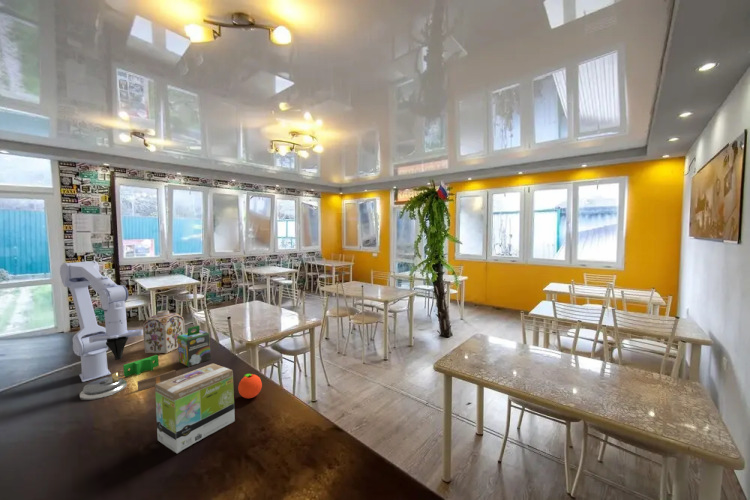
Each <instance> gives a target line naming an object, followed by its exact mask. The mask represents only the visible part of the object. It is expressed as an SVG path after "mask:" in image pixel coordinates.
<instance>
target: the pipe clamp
mask: <svg viewBox="0 0 750 500" xmlns="http://www.w3.org/2000/svg"><path fill="white" fill-rule="evenodd" d="M159 366H160V364H159V355H158V354H155V355H152V356H149V357H145V358H142V359H139V360H136V361H132V362H129V363H126V364H123V366H122V367H123V368H122V369H123V376H125V377H124V378H126V377H129V376H132V375H136V376H139V375H141V373H144V372H148V371H154V368H157V367H159Z"/></svg>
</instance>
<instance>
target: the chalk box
mask: <svg viewBox="0 0 750 500" xmlns="http://www.w3.org/2000/svg"><path fill="white" fill-rule="evenodd" d="M194 329H195V330H194ZM192 330H193V331H192ZM177 341H178V350H177V352H178V358H179V359H178V361H179V363H180V364H183V365H184V366H186V367H188V368H190V367H192V366H196V365H198V364H202V363H204V362H207V361H211V360H212V357H211V354H212V353H211V342H210V341H211V340H210V332H208V331H204V330H201V326H200V325H194V326H190V327H188V328H187V332H185V334H182V335H179V336H177Z"/></svg>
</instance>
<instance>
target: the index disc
mask: <svg viewBox="0 0 750 500" xmlns="http://www.w3.org/2000/svg"><path fill="white" fill-rule="evenodd" d="M123 378H126V377H125V376H124V375H123V376H121V375H119V373H118V371H117V372H113V373H111V376H105V377H101V378H97V380H95V379H94V381H90V382H88V383H87V384H86V385H84V386H83V388H82V391H83V390H84V394H87V395H91V394H98V393H103V392H106V391H109V390H112V389H114V388H116V387H118V386H120V385H121V384H122V383H123V380H124V379H123Z"/></svg>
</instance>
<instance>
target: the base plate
mask: <svg viewBox="0 0 750 500" xmlns="http://www.w3.org/2000/svg"><path fill="white" fill-rule="evenodd" d="M127 386H128V383H127V380H124V379H123V383H122V384H121V385H120V386H118V387H116V388H114V389H112V390H109V391H106V392H103V393H98V394H91V395H87V394H84V390H83V389H82V391H81V392H79V399H80V400H81V401H92V400H99V399H102V398H106V397H108V396H111V395H114V394H116V393H119V392H121V391H122V390H124V389H125V388H126V387H127Z"/></svg>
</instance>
